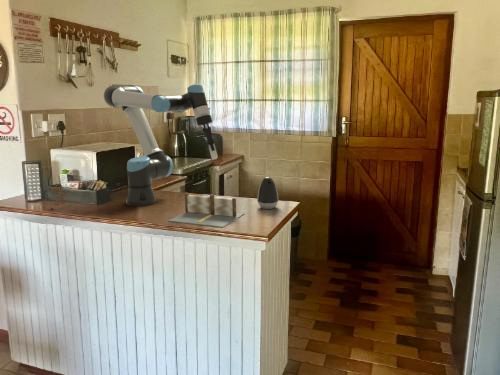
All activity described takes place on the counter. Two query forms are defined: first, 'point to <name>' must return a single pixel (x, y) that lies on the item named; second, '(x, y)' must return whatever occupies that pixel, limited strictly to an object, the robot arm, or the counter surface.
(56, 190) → the gingerbread man figurine
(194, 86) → the robot arm
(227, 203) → the folding fence panel
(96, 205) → the counter surface
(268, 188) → the egg-shaped speaker
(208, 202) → the fixed fence section
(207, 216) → the board
